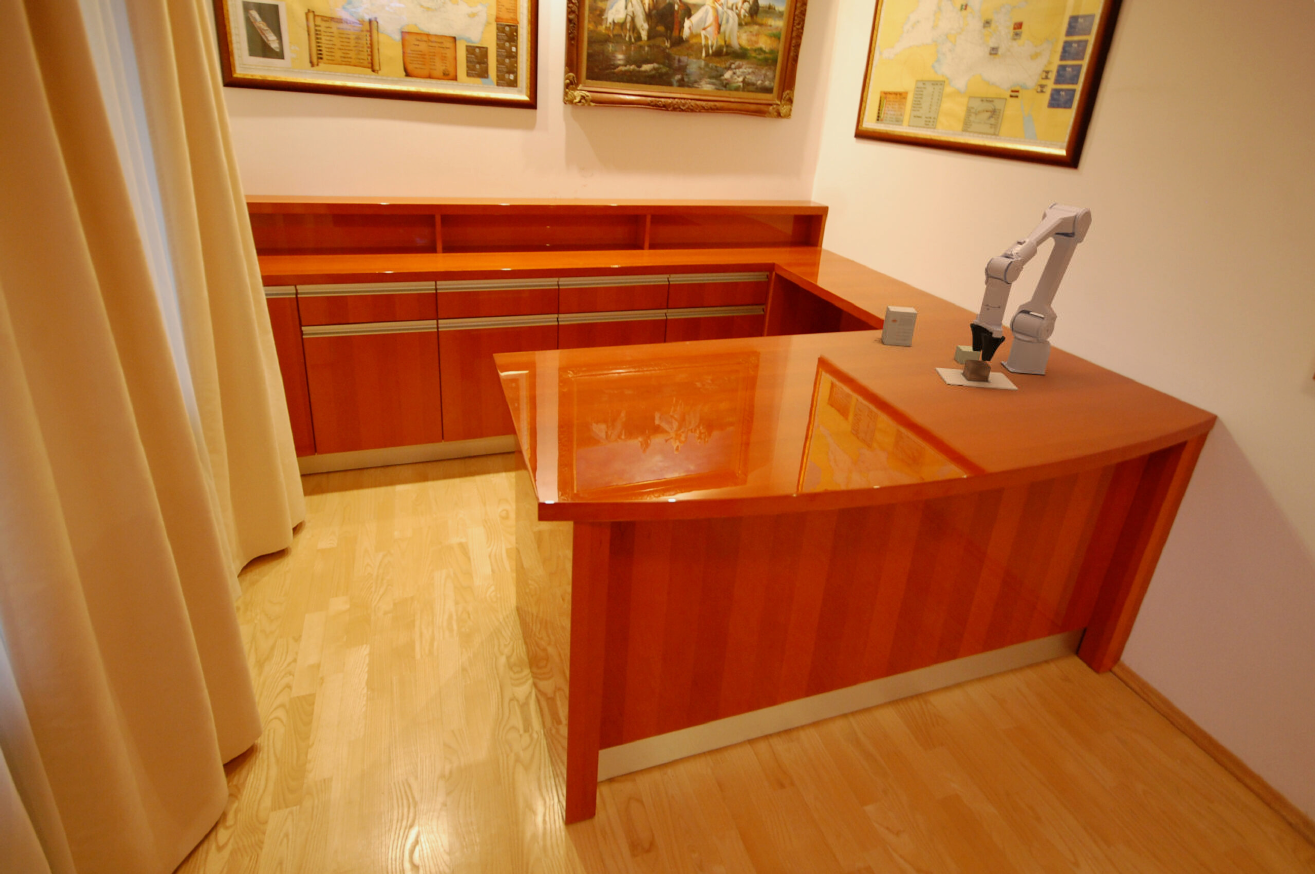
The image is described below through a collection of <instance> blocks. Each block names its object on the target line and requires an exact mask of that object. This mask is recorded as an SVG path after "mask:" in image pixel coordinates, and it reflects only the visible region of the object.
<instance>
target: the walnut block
mask: <svg viewBox="0 0 1315 874" xmlns="http://www.w3.org/2000/svg"><path fill="white" fill-rule="evenodd" d="M991 369H992V366H991V365H990V364H989V363H988V361H982V360H981V359H979V360H967V359H966V362H965V364H964V366H963V369H962V370H963V375H964V376H965V377H966V378H967V379H968V380H974V381H987V382H988V378H989V374H990V372H991Z"/></svg>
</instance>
